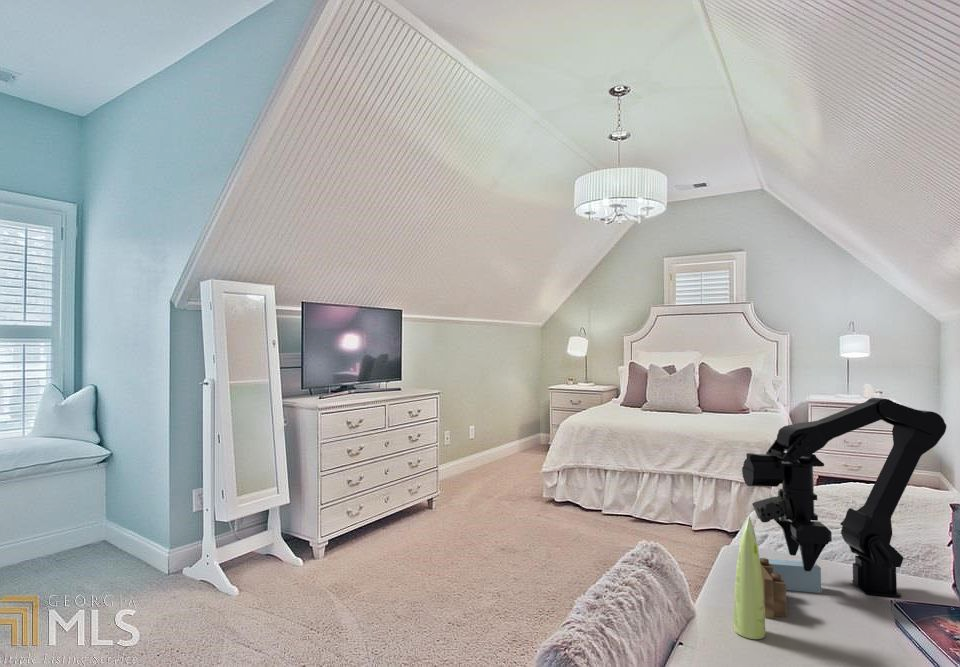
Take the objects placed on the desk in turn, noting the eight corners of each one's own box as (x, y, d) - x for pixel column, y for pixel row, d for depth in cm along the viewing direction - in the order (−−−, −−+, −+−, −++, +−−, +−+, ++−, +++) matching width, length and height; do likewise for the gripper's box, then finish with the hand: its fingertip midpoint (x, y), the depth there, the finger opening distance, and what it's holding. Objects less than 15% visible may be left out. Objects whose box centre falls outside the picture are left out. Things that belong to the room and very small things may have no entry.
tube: (775, 640, 93) (772, 522, 94) (749, 643, 92) (747, 524, 93) (751, 624, 99) (749, 513, 100) (726, 627, 98) (724, 515, 99)
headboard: (767, 589, 114) (766, 554, 115) (788, 620, 101) (787, 581, 101) (746, 587, 115) (746, 553, 116) (765, 618, 102) (764, 579, 102)
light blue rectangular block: (815, 586, 116) (814, 561, 116) (821, 593, 113) (820, 566, 113) (747, 580, 119) (747, 556, 119) (751, 586, 116) (751, 561, 116)
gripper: (745, 476, 127) (747, 545, 126) (768, 495, 109) (770, 576, 108) (799, 478, 125) (800, 549, 124) (831, 498, 106) (834, 581, 106)
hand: (799, 562), depth 115 cm, fingers open, 9 cm apart
